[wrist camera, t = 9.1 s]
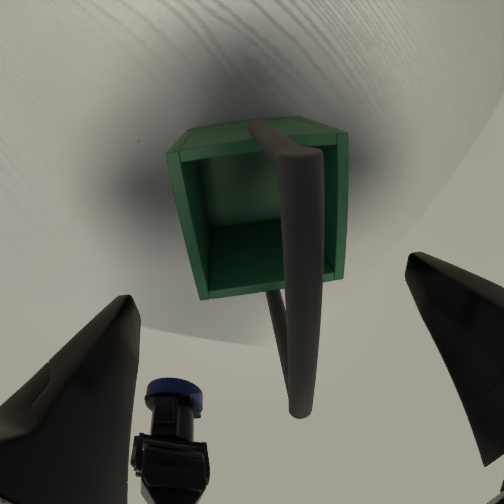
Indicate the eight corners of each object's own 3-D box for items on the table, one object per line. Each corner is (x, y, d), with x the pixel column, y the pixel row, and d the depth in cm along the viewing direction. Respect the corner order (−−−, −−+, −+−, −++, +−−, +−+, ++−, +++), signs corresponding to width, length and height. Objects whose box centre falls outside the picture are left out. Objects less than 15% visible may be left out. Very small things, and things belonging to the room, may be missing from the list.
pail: (185, 118, 16) (299, 105, 16) (207, 239, 20) (305, 225, 21) (91, 190, 4) (465, 153, 4) (200, 431, 9) (394, 394, 9)
